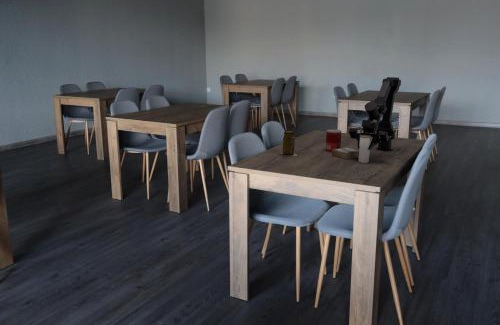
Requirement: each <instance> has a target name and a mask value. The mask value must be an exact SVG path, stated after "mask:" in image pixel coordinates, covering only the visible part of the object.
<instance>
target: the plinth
mask: <svg viewBox="0 0 500 325" xmlns="http://www.w3.org/2000/svg"><path fill="white" fill-rule="evenodd" d="M331 156H332V157H335V158H340V159H342V160H343V159H344V160H350V159H351V160H352V159H356V158H359V150H357V149H353V148H350V147H341V148H340V149H334V150H332V152H331Z"/></svg>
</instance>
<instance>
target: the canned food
mask: <svg viewBox="0 0 500 325" xmlns="http://www.w3.org/2000/svg"><path fill="white" fill-rule="evenodd" d="M325 136H326V137H325V151H327V152H331V153H332V150H334V149H341V148H342V147H341V145H342V130H340V129H332V128H331V129H326V131H325Z"/></svg>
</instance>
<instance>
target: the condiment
mask: <svg viewBox="0 0 500 325" xmlns="http://www.w3.org/2000/svg"><path fill="white" fill-rule="evenodd" d="M295 138H296V137H295V132H294V131H293V130H284V132H283V137H282V152H279V154H280V155H283V156H285V157H297V156H299V155H298V154H296V153H295V144H296V143H295V142H296V139H295Z"/></svg>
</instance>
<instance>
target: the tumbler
mask: <svg viewBox="0 0 500 325" xmlns="http://www.w3.org/2000/svg"><path fill="white" fill-rule="evenodd" d="M371 141H372V137H371V135H360V145H359V150H358V151H359V157H358V163H362V164H367V163H369V162H370V152H371V151H370V150H371V149H370V150H369V145H370V143H371Z"/></svg>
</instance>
